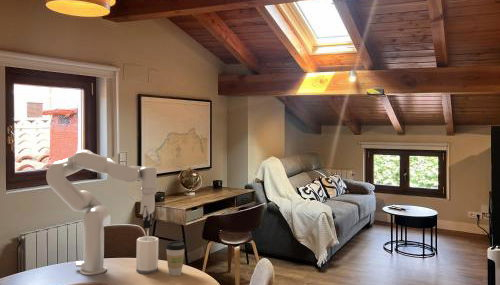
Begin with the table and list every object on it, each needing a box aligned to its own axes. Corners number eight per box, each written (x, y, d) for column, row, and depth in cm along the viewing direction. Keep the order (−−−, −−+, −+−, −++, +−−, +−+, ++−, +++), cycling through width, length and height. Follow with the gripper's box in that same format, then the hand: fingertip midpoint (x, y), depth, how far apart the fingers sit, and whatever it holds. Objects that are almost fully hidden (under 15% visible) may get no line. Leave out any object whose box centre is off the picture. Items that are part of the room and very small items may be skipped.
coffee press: (133, 273, 207) (134, 241, 206) (141, 265, 219) (141, 235, 219) (154, 274, 206) (155, 242, 206) (161, 265, 219) (161, 235, 219)
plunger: (138, 256, 208) (138, 219, 208) (142, 252, 215) (143, 216, 215) (152, 256, 208) (153, 220, 207) (156, 252, 215) (156, 217, 215)
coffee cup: (180, 277, 203) (181, 247, 202) (161, 275, 205) (162, 245, 204) (187, 271, 212) (188, 241, 212) (169, 269, 214) (170, 240, 214)
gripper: (145, 188, 219) (145, 223, 220) (136, 193, 203) (135, 230, 203) (160, 189, 219) (159, 223, 219) (151, 193, 202) (150, 231, 203)
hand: (147, 226), depth 211 cm, fingers closed on plunger, 3 cm apart
